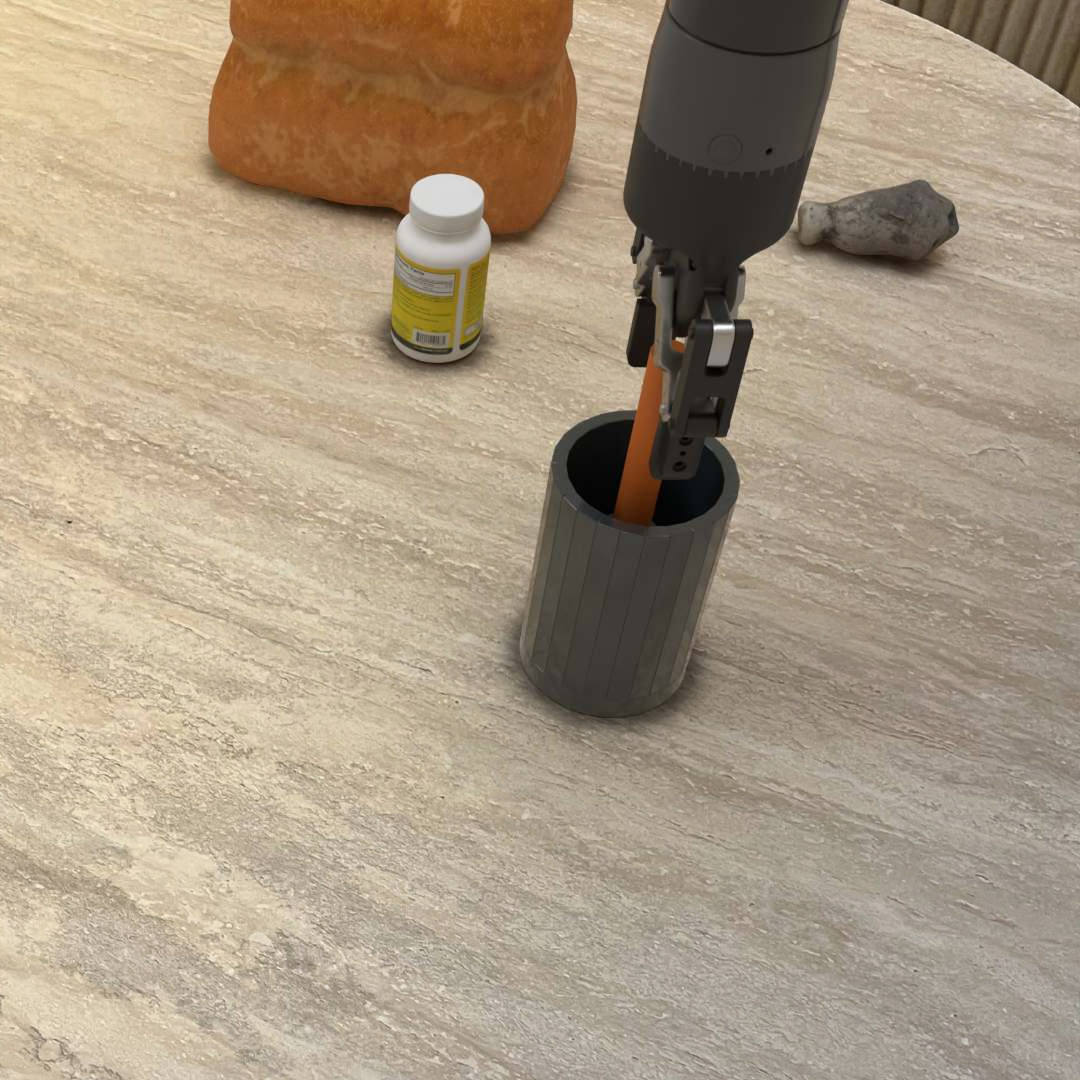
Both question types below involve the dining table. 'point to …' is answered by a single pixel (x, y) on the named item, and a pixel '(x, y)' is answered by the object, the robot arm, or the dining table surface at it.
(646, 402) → the brush
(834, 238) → the stone
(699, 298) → the robot arm
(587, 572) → the ribbed pencil cup
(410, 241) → the pill bottle
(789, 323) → the dining table surface
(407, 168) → the bread
